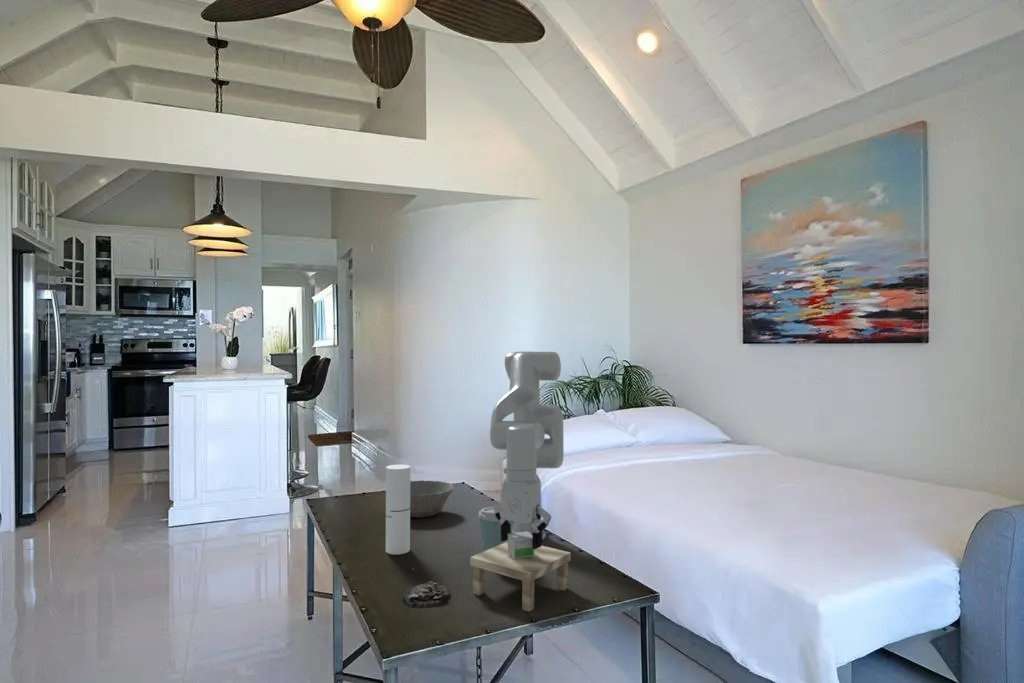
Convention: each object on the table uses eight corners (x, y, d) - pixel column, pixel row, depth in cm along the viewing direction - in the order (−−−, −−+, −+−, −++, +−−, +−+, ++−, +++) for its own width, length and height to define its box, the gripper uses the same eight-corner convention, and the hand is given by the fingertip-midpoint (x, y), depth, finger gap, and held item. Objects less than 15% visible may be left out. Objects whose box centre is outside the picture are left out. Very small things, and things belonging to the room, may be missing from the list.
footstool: (513, 572, 164) (513, 538, 164) (570, 588, 153) (570, 552, 153) (470, 593, 149) (470, 557, 149) (529, 613, 138) (529, 573, 138)
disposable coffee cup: (472, 557, 175) (472, 505, 175) (507, 552, 179) (507, 502, 179) (485, 569, 165) (485, 514, 165) (521, 564, 169) (521, 511, 169)
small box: (513, 559, 148) (513, 539, 148) (507, 552, 153) (507, 532, 153) (535, 557, 149) (535, 537, 149) (528, 550, 155) (528, 530, 155)
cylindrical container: (404, 555, 177) (405, 469, 177) (381, 553, 178) (382, 468, 178) (413, 547, 184) (413, 465, 184) (391, 545, 185) (391, 464, 185)
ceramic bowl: (377, 516, 216) (377, 488, 217) (421, 503, 235) (421, 477, 235) (422, 527, 204) (422, 498, 204) (465, 512, 223) (466, 485, 223)
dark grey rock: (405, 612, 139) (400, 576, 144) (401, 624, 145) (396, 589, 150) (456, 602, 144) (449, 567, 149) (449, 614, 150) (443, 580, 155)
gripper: (485, 473, 153) (484, 540, 153) (541, 482, 143) (541, 555, 143) (503, 468, 159) (502, 533, 159) (558, 477, 149) (558, 546, 149)
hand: (521, 543), depth 151 cm, fingers open, 9 cm apart
